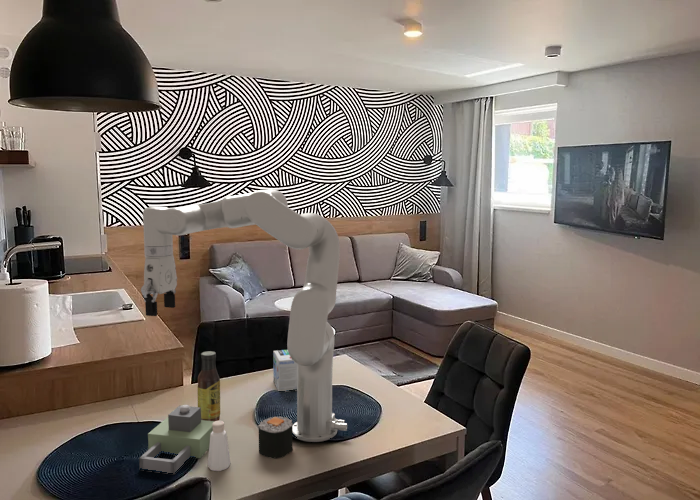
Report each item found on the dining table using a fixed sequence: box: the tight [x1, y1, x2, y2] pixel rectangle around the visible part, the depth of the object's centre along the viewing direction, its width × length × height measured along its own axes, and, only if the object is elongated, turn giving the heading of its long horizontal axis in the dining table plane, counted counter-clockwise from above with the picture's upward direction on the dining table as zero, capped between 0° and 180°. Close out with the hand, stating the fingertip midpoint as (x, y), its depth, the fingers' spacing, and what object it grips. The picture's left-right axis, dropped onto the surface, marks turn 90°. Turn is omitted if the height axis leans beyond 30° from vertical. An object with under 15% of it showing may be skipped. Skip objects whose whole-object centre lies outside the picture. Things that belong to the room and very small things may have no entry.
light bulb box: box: [272, 349, 298, 392], centre depth 183 cm, size 11×7×11 cm, turn 17°
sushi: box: [257, 415, 294, 459], centre depth 140 cm, size 8×8×8 cm
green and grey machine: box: [138, 404, 215, 475], centre depth 138 cm, size 14×18×10 cm
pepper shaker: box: [207, 420, 231, 472], centre depth 133 cm, size 5×5×11 cm
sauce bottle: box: [197, 350, 221, 421], centre depth 156 cm, size 7×6×20 cm
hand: (161, 311), depth 155 cm, fingers open, 9 cm apart
